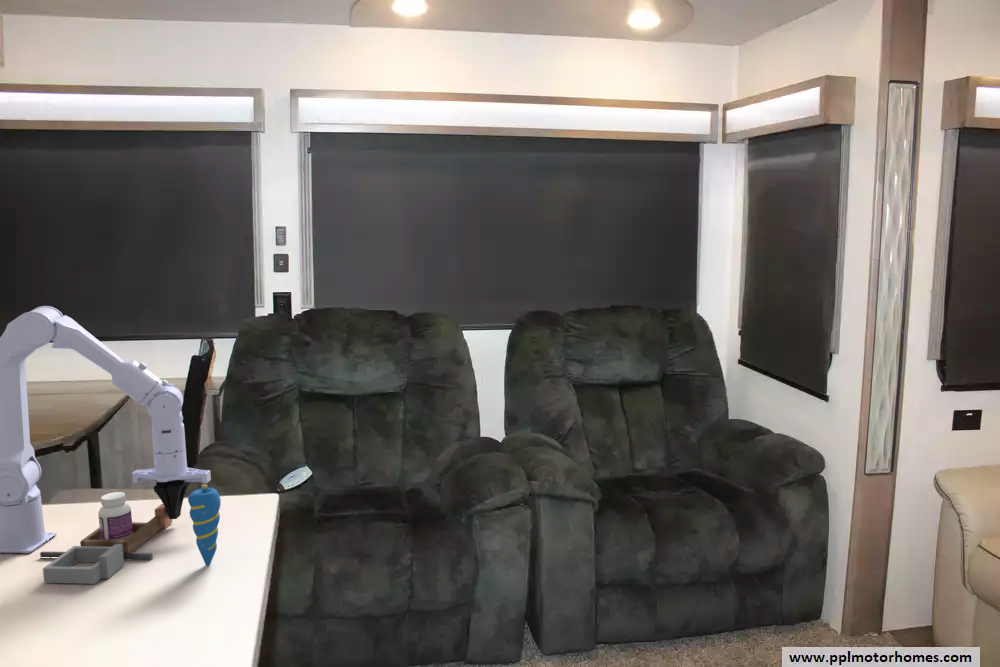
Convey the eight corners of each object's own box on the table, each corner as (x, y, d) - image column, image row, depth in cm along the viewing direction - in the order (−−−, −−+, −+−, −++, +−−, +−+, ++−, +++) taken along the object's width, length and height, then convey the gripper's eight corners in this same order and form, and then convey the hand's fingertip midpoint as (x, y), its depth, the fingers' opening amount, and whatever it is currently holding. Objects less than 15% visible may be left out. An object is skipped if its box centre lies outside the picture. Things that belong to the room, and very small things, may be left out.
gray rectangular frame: (44, 582, 129) (42, 561, 128) (75, 559, 137) (73, 538, 136) (102, 583, 128) (100, 561, 127) (129, 560, 137) (127, 539, 136)
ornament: (186, 567, 134) (179, 484, 132) (210, 556, 138) (204, 474, 136) (207, 574, 132) (201, 488, 129) (231, 561, 136) (225, 479, 134)
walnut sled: (81, 554, 139) (79, 534, 138) (125, 521, 154) (123, 503, 153) (133, 555, 138) (131, 535, 138) (172, 522, 153) (171, 503, 152)
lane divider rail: (40, 558, 138) (40, 552, 138) (42, 556, 139) (42, 551, 139) (151, 560, 137) (150, 554, 137) (152, 558, 138) (152, 553, 137)
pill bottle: (140, 540, 145) (135, 490, 144) (123, 552, 140) (119, 501, 139) (112, 539, 146) (107, 489, 144) (95, 551, 141) (90, 500, 139)
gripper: (121, 455, 145) (127, 524, 148) (197, 456, 145) (202, 526, 147) (140, 444, 152) (146, 510, 155) (213, 444, 152) (218, 511, 154)
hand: (174, 517), depth 151 cm, fingers closed
